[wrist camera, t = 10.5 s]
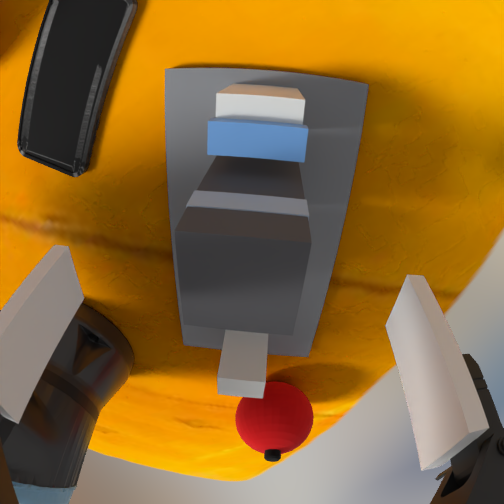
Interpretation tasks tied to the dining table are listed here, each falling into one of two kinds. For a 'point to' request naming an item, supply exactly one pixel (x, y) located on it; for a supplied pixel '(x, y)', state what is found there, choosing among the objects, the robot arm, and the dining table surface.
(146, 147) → the dining table surface
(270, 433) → the ornament
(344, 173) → the grey plate with blocks
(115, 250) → the dining table surface
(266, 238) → the plug
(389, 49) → the dining table surface
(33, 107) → the phone
